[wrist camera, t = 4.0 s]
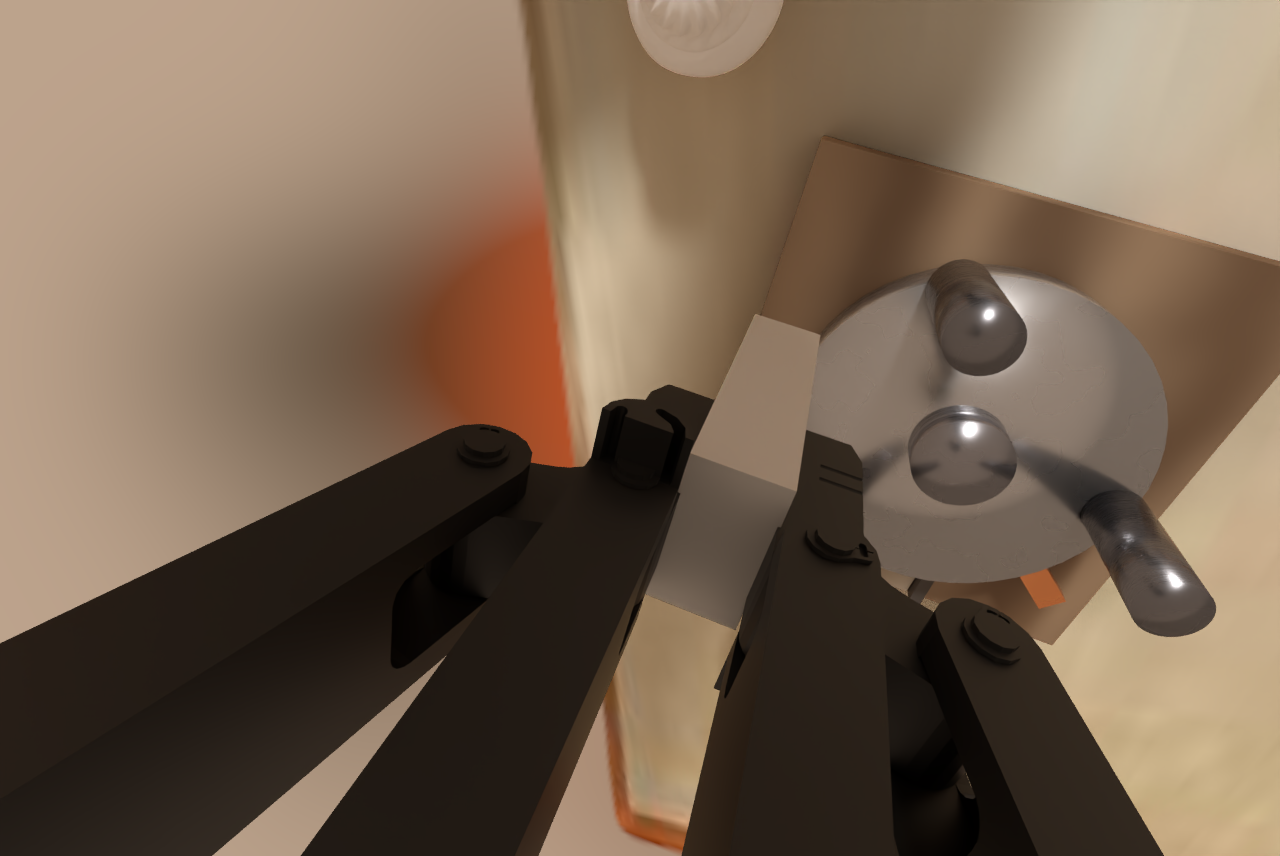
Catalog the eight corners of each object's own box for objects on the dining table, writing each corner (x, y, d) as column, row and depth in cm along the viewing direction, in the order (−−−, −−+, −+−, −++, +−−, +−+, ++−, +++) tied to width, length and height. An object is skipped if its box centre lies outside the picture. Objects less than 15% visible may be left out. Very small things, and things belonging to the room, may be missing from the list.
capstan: (747, 495, 35) (720, 594, 28) (857, 217, 27) (856, 260, 20) (1043, 603, 32) (1092, 739, 26) (1255, 334, 25) (1406, 427, 18)
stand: (702, 488, 39) (690, 519, 36) (823, 135, 28) (819, 140, 26) (1040, 612, 36) (1056, 656, 33) (1311, 270, 26) (1367, 292, 23)
